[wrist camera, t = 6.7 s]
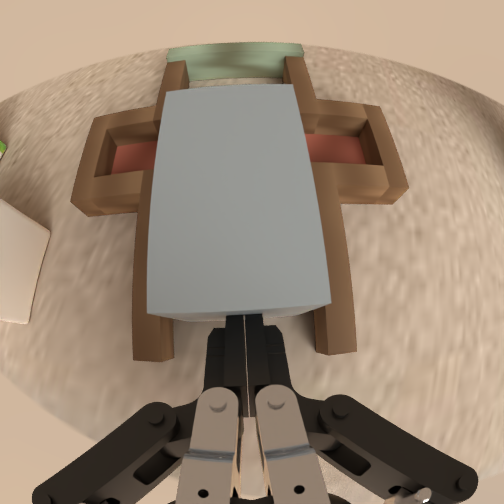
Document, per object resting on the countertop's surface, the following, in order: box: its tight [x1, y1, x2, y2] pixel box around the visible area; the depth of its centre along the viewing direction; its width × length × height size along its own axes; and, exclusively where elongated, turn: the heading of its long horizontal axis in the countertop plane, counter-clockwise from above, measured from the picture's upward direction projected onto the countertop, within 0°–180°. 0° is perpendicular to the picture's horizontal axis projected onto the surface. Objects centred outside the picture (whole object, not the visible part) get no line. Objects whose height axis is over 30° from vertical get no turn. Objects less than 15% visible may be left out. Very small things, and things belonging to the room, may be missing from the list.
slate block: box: [147, 84, 331, 322], centre depth 13 cm, size 6×10×7 cm, turn 4°
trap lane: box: [70, 42, 409, 362], centre depth 17 cm, size 21×23×3 cm
